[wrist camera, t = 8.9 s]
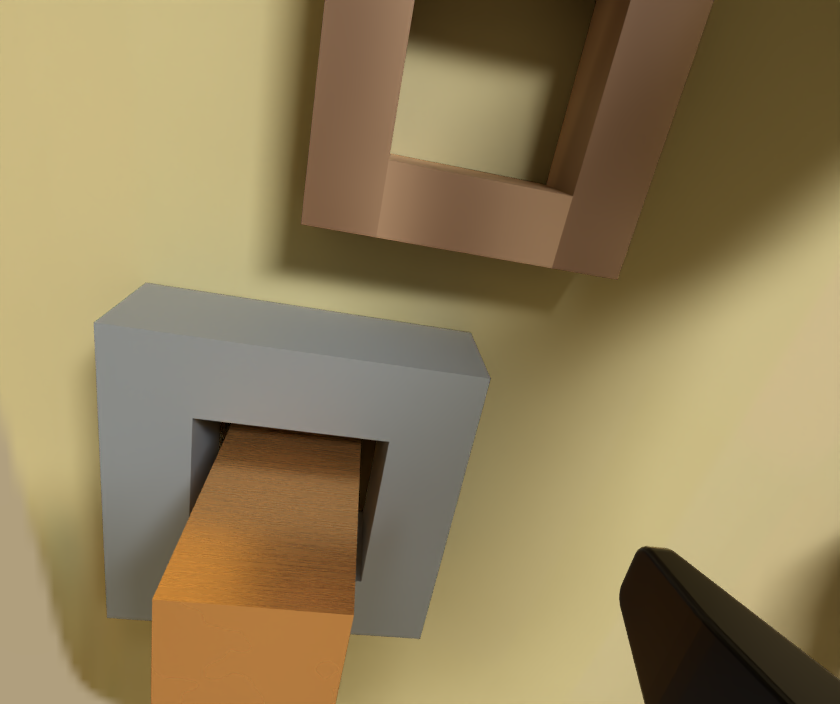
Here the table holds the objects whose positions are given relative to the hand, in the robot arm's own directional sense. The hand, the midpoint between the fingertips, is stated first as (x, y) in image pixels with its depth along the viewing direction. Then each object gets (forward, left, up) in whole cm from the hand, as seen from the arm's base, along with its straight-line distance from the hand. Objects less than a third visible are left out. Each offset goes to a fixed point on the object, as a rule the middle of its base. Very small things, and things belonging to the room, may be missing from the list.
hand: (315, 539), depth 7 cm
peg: (+1, +6, -12) cm, 13 cm away
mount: (-3, -7, -12) cm, 14 cm away
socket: (+1, +6, -12) cm, 13 cm away
